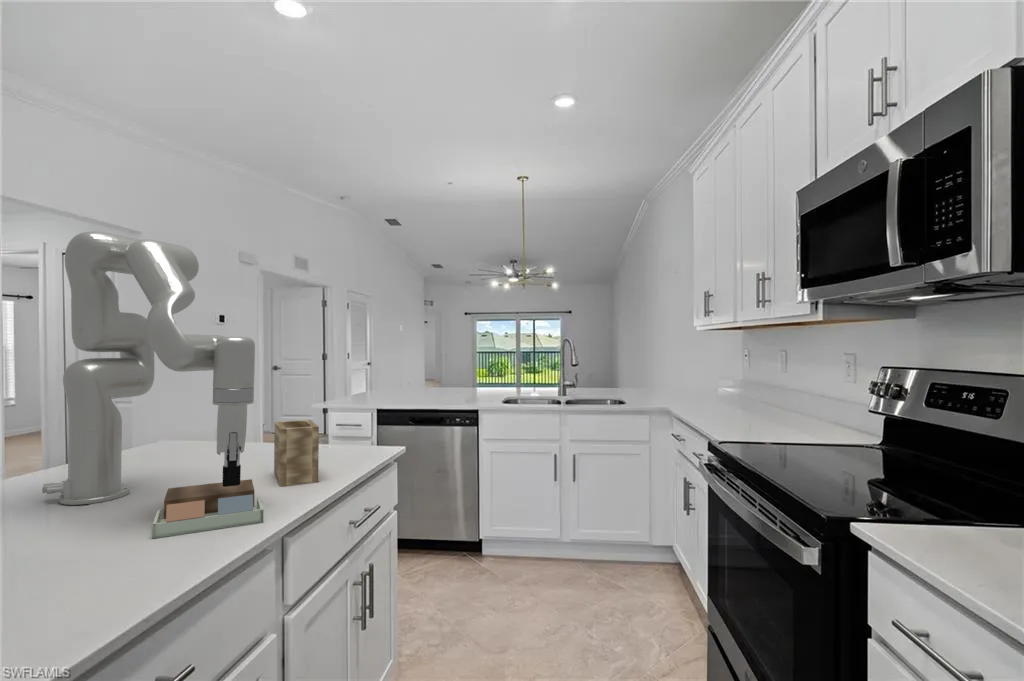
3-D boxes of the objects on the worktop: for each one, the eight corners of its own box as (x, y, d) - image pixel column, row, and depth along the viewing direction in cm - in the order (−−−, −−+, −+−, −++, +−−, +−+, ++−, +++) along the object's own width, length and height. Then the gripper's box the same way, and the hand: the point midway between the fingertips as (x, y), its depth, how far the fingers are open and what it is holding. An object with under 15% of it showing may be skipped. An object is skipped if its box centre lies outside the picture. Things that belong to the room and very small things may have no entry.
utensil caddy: (279, 486, 128) (280, 429, 128) (274, 474, 140) (274, 421, 140) (318, 482, 132) (318, 426, 132) (309, 470, 144) (310, 419, 144)
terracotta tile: (168, 508, 100) (168, 524, 99) (166, 504, 95) (165, 521, 94) (204, 503, 103) (204, 519, 102) (204, 500, 98) (204, 516, 97)
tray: (152, 538, 93) (152, 524, 93) (157, 522, 102) (157, 509, 102) (263, 522, 102) (263, 509, 102) (259, 508, 110) (259, 497, 111)
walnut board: (163, 521, 103) (164, 500, 103) (167, 507, 111) (168, 488, 111) (254, 508, 110) (254, 489, 110) (251, 496, 119) (251, 479, 119)
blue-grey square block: (217, 501, 104) (217, 517, 104) (218, 498, 100) (217, 514, 99) (251, 497, 107) (251, 512, 106) (253, 494, 103) (253, 510, 102)
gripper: (212, 393, 112) (210, 478, 112) (212, 401, 99) (209, 497, 99) (251, 392, 116) (249, 474, 116) (256, 399, 103) (253, 492, 103)
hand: (231, 484), depth 108 cm, fingers closed
